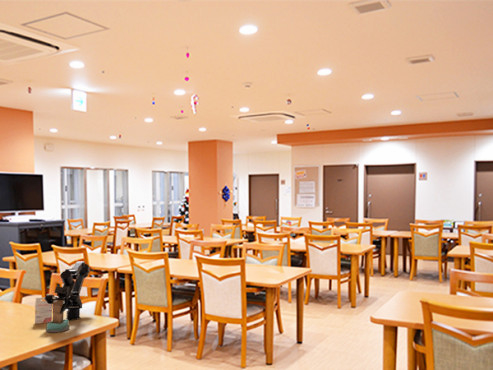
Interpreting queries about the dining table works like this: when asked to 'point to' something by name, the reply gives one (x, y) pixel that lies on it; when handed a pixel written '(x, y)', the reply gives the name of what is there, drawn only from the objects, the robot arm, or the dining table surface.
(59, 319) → the rail post
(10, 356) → the dining table surface
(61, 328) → the teal square tray
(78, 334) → the dining table surface
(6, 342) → the dining table surface
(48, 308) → the ink cartridge box
